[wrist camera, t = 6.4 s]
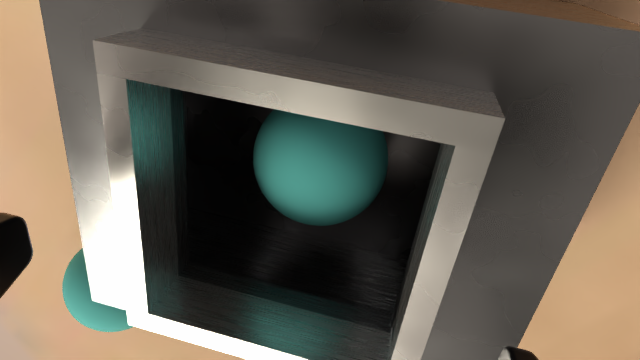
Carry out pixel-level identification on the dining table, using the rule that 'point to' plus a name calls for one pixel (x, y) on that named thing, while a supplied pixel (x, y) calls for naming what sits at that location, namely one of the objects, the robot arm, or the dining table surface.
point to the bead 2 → (318, 167)
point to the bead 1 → (89, 300)
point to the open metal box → (351, 108)
